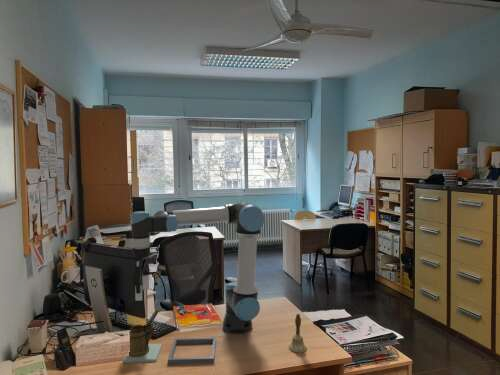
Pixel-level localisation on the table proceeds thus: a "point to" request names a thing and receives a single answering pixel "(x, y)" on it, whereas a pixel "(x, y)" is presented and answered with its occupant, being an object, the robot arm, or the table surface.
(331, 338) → the table surface
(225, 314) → the robot arm
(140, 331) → the wooden mug
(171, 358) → the frame
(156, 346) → the coaster
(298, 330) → the hand bell
